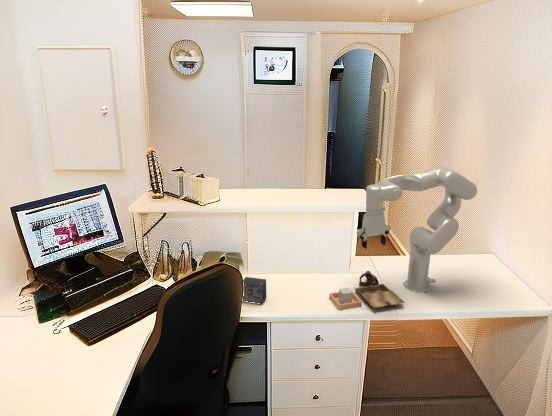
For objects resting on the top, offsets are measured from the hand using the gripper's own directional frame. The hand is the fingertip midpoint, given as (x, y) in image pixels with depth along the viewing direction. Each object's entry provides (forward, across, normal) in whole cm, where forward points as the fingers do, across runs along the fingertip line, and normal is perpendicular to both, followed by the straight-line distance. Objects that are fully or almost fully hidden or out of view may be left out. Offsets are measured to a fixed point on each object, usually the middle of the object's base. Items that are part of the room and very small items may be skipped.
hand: (373, 245), depth 200 cm
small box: (+23, +57, -11) cm, 62 cm away
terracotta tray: (+24, +17, +4) cm, 30 cm away
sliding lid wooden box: (+25, +1, +8) cm, 27 cm away
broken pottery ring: (+26, -2, -8) cm, 27 cm away
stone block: (+24, +17, +4) cm, 30 cm away
